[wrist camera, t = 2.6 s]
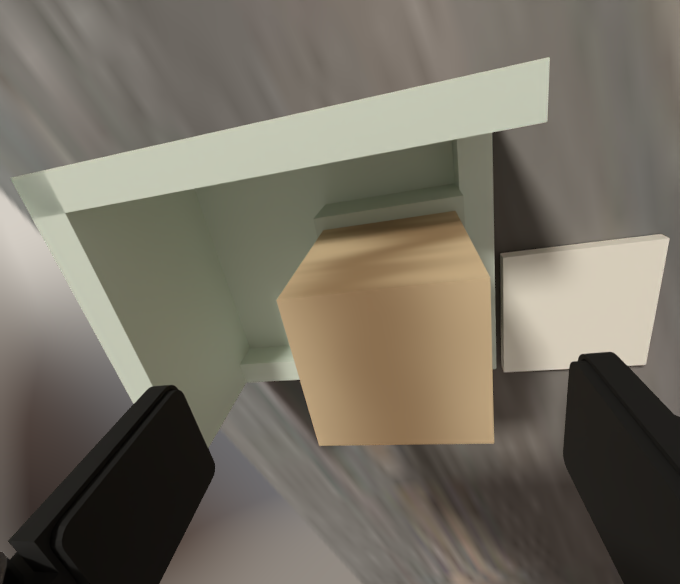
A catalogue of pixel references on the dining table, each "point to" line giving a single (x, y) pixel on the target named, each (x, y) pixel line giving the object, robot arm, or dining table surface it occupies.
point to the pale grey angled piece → (262, 222)
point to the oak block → (393, 334)
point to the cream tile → (579, 302)
